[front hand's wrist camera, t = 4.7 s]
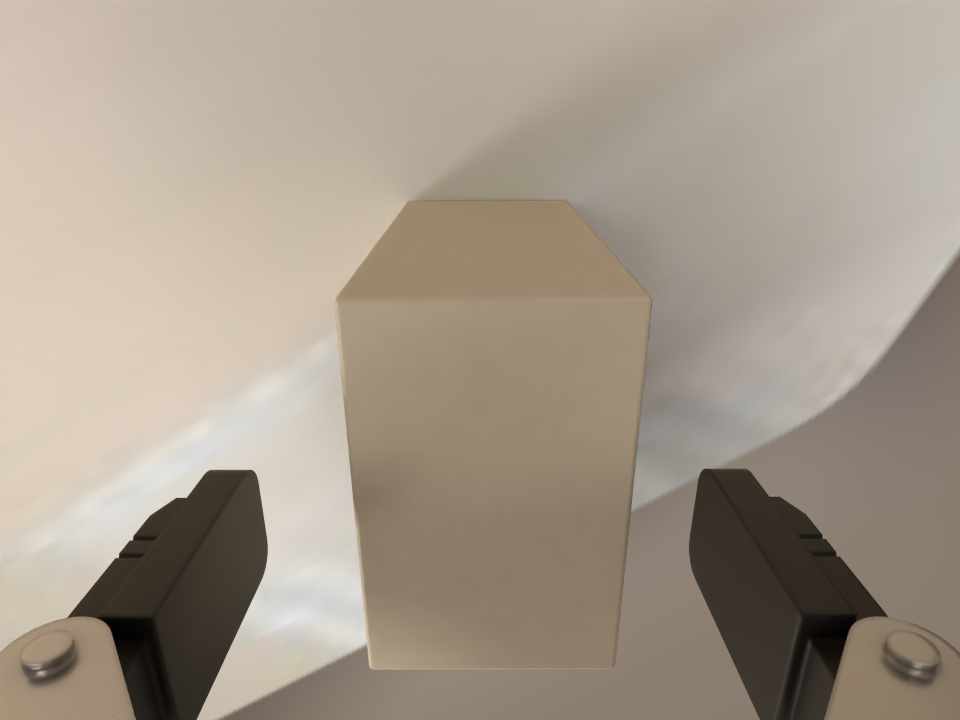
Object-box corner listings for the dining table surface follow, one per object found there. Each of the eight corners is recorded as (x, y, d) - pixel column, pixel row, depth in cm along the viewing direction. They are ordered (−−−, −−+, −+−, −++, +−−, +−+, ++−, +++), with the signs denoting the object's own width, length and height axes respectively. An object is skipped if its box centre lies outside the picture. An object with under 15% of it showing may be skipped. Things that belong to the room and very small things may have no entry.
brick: (417, 423, 23) (368, 671, 13) (407, 200, 20) (332, 297, 10) (556, 423, 23) (615, 671, 13) (567, 199, 20) (653, 296, 10)
